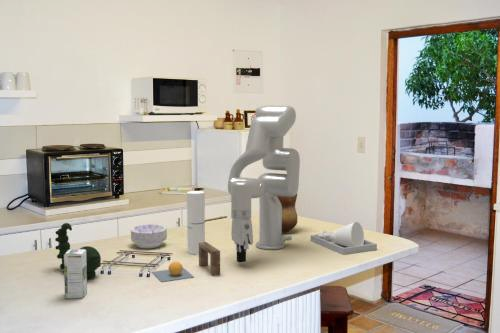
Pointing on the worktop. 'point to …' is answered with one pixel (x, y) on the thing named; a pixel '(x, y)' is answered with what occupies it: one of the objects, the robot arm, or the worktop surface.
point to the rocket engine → (346, 235)
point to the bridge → (214, 257)
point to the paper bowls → (148, 235)
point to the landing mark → (166, 275)
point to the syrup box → (75, 273)
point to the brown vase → (288, 212)
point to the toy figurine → (91, 253)
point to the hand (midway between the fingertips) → (241, 261)
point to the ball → (175, 268)
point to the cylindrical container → (195, 220)
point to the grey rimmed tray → (348, 250)
